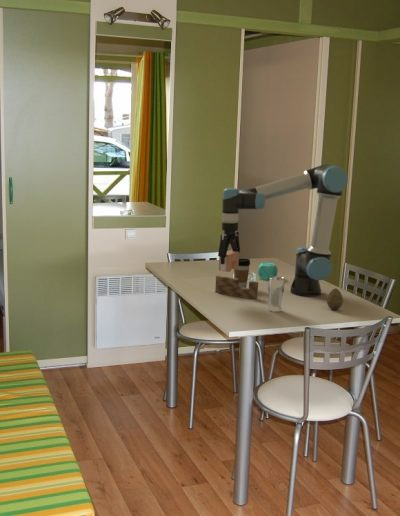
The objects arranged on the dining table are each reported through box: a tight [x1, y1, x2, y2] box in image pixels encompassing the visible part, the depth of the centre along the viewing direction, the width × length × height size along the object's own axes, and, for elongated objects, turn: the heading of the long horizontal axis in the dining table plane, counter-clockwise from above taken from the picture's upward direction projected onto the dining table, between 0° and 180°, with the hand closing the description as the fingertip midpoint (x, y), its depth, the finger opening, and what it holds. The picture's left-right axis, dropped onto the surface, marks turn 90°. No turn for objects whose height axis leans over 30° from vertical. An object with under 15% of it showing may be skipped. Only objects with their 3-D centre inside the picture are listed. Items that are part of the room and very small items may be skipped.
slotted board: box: [214, 274, 259, 300], centre depth 335 cm, size 22×2×8 cm, turn 59°
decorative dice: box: [257, 262, 279, 281], centre depth 373 cm, size 8×8×8 cm
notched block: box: [218, 249, 240, 273], centre depth 323 cm, size 10×5×8 cm, turn 149°
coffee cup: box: [233, 258, 251, 288], centre depth 348 cm, size 8×8×15 cm
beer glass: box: [267, 276, 285, 313], centre depth 309 cm, size 7×7×15 cm
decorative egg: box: [326, 288, 344, 311], centre depth 315 cm, size 7×7×10 cm
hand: (228, 268), depth 323 cm, fingers closed on notched block, 10 cm apart
